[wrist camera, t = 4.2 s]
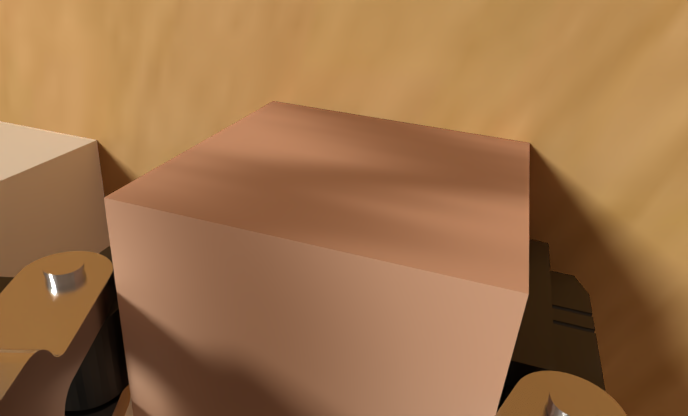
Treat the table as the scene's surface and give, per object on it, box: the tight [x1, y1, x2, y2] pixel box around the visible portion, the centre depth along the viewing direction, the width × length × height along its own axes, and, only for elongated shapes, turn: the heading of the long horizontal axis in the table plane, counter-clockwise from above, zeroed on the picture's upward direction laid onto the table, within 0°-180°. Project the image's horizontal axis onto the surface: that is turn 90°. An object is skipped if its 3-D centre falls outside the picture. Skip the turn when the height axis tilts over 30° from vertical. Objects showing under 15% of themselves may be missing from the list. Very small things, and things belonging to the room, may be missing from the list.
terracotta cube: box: [104, 101, 530, 416], centre depth 9 cm, size 5×5×5 cm
